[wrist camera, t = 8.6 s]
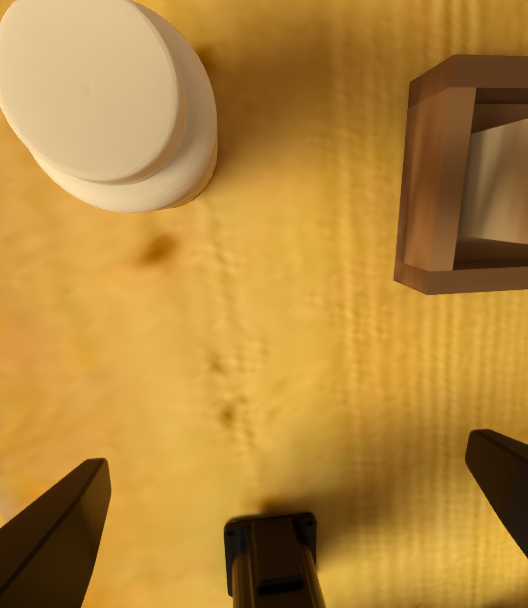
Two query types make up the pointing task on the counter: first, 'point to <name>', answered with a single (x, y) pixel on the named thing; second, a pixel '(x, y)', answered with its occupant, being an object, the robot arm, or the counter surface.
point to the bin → (455, 176)
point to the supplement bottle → (109, 102)
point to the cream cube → (496, 185)
